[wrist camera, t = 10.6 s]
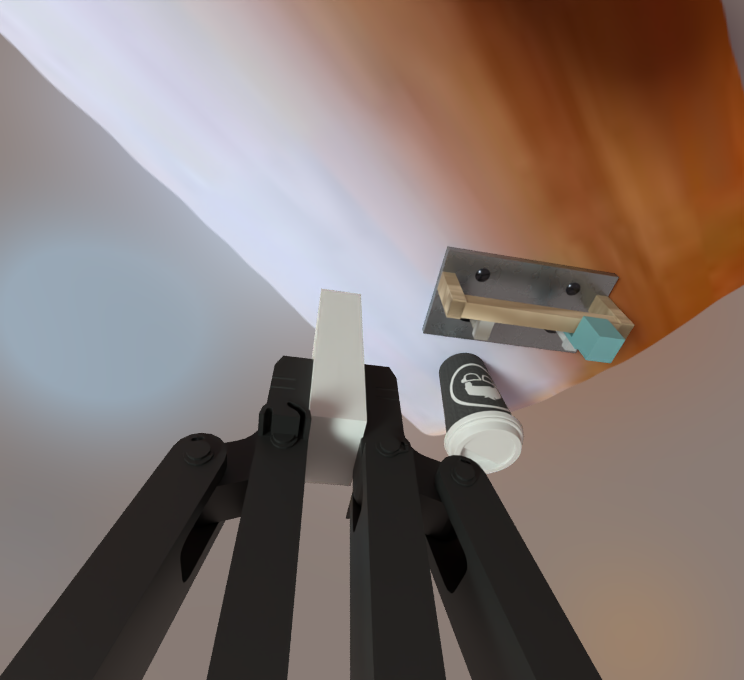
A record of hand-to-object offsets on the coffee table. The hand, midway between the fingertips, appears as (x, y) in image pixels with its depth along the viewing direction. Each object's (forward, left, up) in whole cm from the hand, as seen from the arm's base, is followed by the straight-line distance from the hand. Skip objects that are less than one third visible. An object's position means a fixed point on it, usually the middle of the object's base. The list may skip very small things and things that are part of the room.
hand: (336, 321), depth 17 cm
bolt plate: (+16, +25, -34) cm, 45 cm away
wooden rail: (+15, +25, -33) cm, 44 cm away
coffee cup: (+28, +21, -35) cm, 50 cm away
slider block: (+15, +31, -33) cm, 48 cm away
